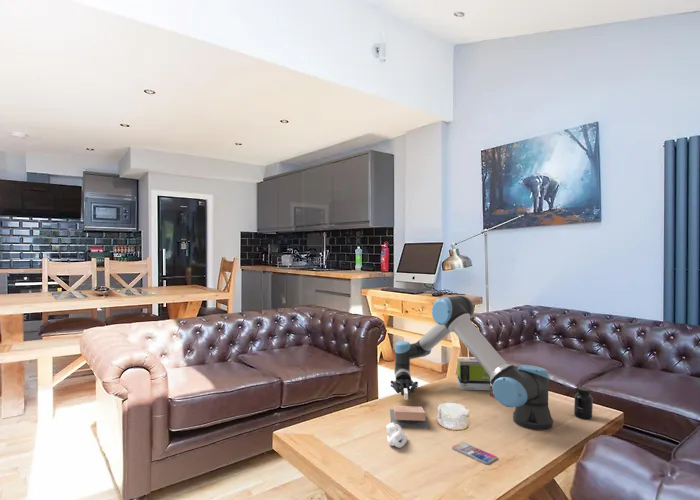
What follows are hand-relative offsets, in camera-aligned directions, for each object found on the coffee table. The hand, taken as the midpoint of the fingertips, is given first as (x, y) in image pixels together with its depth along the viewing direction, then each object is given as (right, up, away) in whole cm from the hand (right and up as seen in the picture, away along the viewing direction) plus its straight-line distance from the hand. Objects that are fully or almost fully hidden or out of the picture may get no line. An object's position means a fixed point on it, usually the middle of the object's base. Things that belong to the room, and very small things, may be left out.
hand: (406, 396), depth 182 cm
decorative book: (+53, -8, +23) cm, 58 cm away
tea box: (+39, -8, +35) cm, 53 cm away
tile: (+1, -6, 0) cm, 6 cm away
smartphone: (+20, -9, -33) cm, 40 cm away
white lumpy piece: (-7, -9, -25) cm, 27 cm away
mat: (0, -8, -5) cm, 10 cm away
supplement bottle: (+76, -9, -1) cm, 76 cm away
